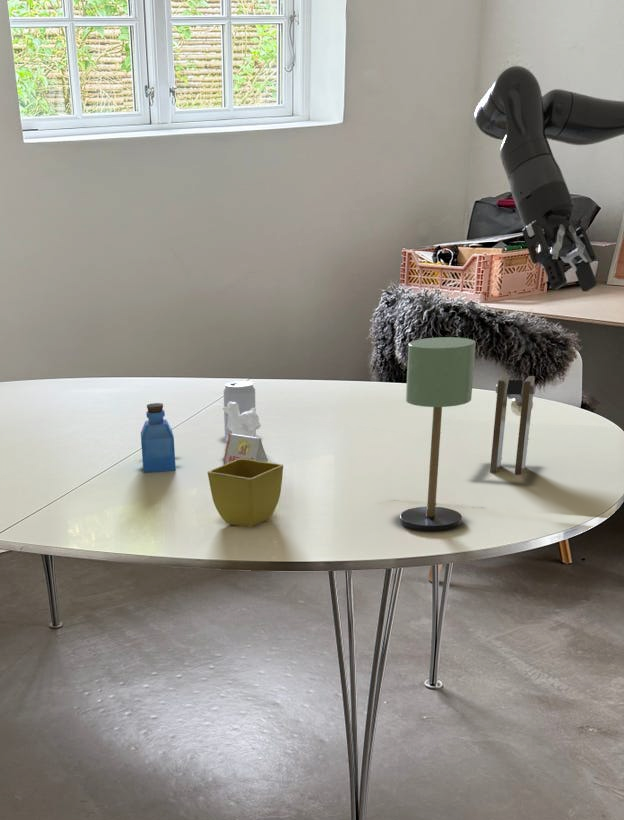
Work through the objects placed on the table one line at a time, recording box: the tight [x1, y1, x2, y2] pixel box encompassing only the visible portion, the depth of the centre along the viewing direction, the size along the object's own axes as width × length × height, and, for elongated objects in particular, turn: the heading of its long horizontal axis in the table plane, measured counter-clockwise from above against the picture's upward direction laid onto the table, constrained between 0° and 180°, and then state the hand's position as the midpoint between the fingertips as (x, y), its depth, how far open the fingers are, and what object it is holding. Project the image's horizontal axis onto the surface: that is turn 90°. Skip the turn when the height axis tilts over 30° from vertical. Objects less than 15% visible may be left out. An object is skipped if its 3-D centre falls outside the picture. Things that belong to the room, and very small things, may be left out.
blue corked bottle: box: [140, 402, 177, 473], centre depth 182 cm, size 6×6×12 cm
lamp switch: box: [507, 379, 534, 417], centre depth 161 cm, size 13×4×4 cm, turn 151°
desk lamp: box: [399, 336, 477, 533], centre depth 139 cm, size 9×9×27 cm
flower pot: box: [207, 459, 284, 528], centre depth 150 cm, size 9×9×9 cm
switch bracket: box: [489, 374, 537, 475], centre depth 159 cm, size 10×8×17 cm
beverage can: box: [223, 380, 257, 442], centre depth 194 cm, size 6×6×12 cm
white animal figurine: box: [222, 401, 262, 443], centre depth 180 cm, size 8×7×12 cm
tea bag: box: [222, 434, 269, 465], centre depth 164 cm, size 4×7×10 cm, turn 46°
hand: (575, 287), depth 147 cm, fingers open, 8 cm apart
